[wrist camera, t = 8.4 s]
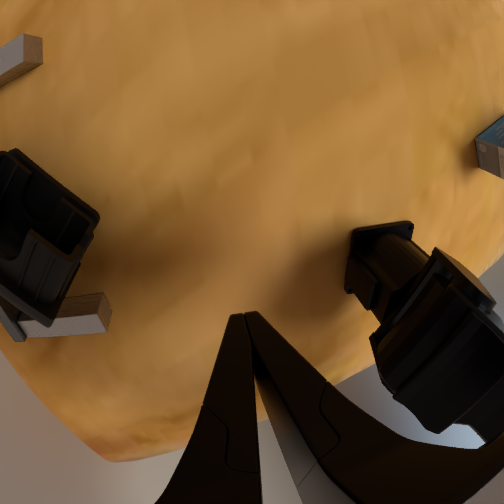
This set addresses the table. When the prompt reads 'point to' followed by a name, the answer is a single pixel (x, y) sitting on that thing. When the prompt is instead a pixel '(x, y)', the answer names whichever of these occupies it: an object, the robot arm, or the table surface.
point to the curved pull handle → (72, 309)
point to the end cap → (39, 237)
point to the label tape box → (492, 149)
